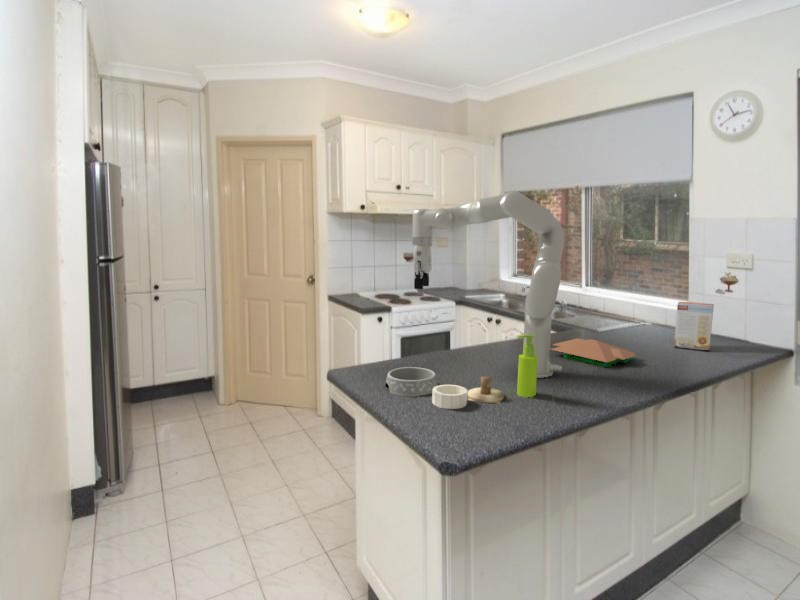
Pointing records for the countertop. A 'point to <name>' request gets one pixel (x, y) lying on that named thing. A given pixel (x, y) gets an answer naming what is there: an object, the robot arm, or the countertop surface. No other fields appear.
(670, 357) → the countertop surface
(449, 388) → the bowl
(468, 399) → the mat
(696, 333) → the cracker box
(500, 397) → the lid
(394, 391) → the dog bowl
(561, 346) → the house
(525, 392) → the soap dispenser
